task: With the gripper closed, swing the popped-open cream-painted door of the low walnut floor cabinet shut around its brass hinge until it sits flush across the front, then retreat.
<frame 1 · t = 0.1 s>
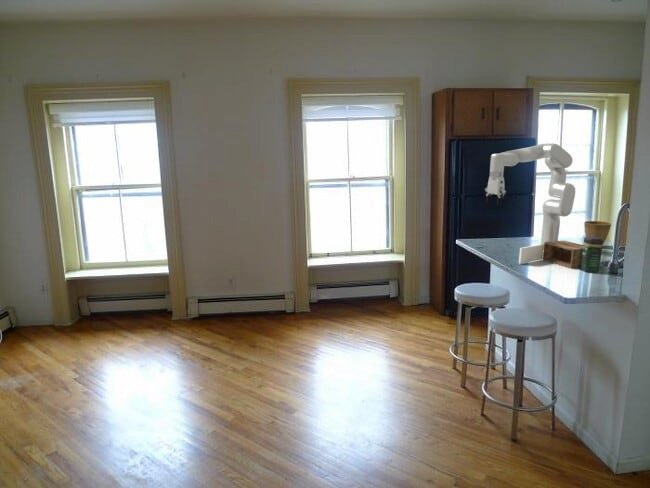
hand: (494, 203, 261), 31 cm above the counter, fingers open, 9 cm apart
coffee jar: (589, 271, 231), on the counter
cabinet: (566, 263, 246), on the counter
plant pot: (594, 246, 285), on the counter
door: (530, 253, 248), point 5 cm above the counter, hinge at 80.0°
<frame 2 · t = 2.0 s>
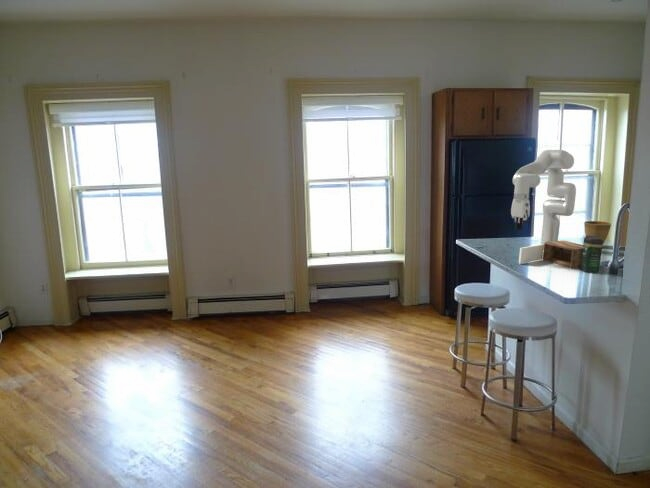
hand: (518, 229, 247), 19 cm above the counter, fingers closed
nothing on the counter moved.
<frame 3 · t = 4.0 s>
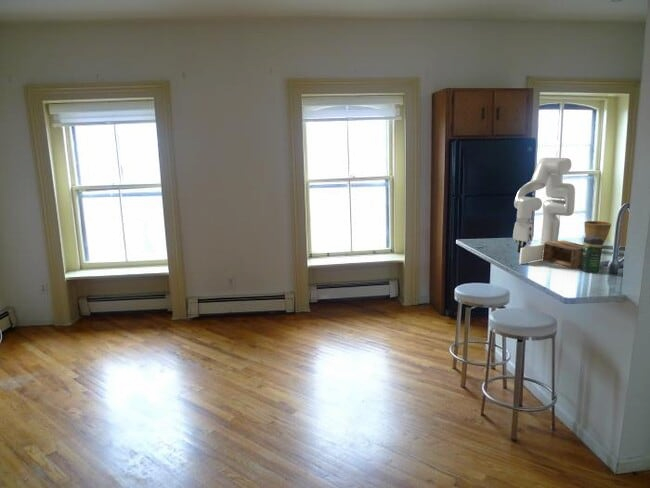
hand: (520, 252, 247), 6 cm above the counter, fingers closed
door: (530, 253, 248), point 5 cm above the counter, hinge at 79.0°, touching gripper
everything else where it was.
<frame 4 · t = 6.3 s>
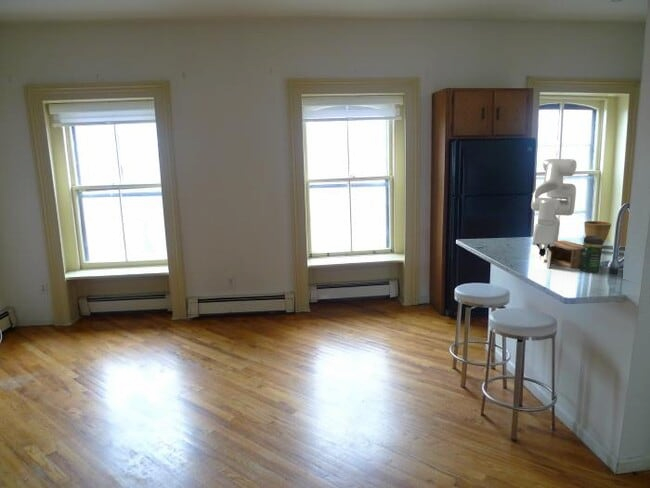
hand: (542, 255, 238), 6 cm above the counter, fingers closed
door: (544, 255, 243), point 5 cm above the counter, hinge at 33.1°, touching gripper
everything else where it was.
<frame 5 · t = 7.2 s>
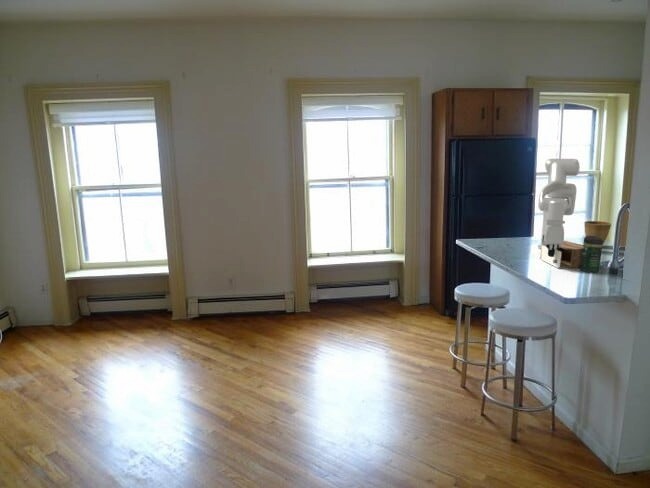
hand: (550, 256, 237), 6 cm above the counter, fingers closed
door: (549, 255, 243), point 5 cm above the counter, hinge at 16.8°, touching gripper
everything else where it was.
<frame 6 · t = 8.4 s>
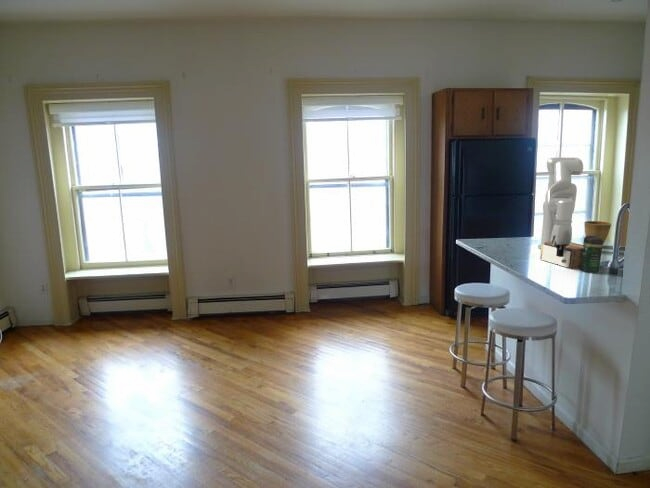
hand: (559, 256, 237), 6 cm above the counter, fingers closed
door: (553, 255, 243), point 5 cm above the counter, hinge at -0.8°, touching gripper
everything else where it was.
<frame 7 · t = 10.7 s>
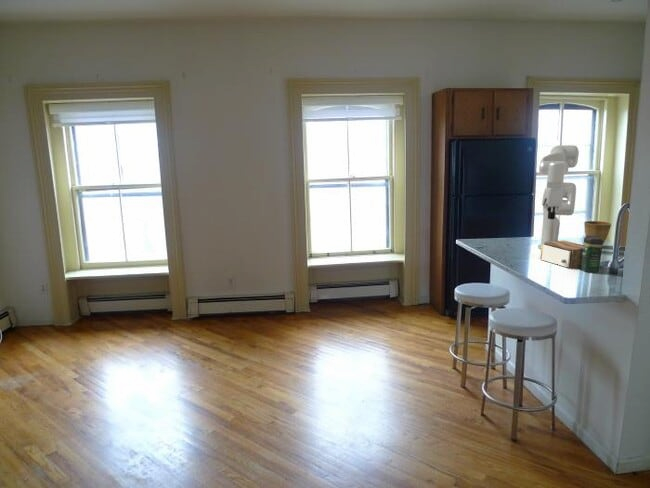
hand: (550, 218, 240), 25 cm above the counter, fingers closed
door: (553, 255, 243), point 5 cm above the counter, hinge at -0.7°
everything else where it was.
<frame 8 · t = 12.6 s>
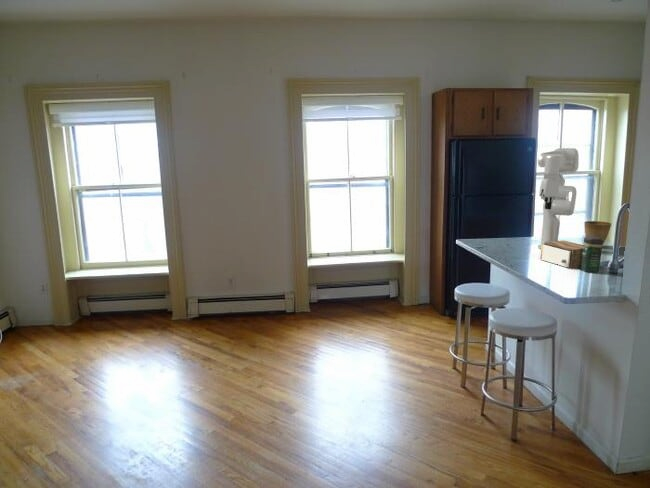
hand: (547, 209, 252), 29 cm above the counter, fingers closed
nothing on the counter moved.
at the end: door at -1° (first picture: +80°) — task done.
